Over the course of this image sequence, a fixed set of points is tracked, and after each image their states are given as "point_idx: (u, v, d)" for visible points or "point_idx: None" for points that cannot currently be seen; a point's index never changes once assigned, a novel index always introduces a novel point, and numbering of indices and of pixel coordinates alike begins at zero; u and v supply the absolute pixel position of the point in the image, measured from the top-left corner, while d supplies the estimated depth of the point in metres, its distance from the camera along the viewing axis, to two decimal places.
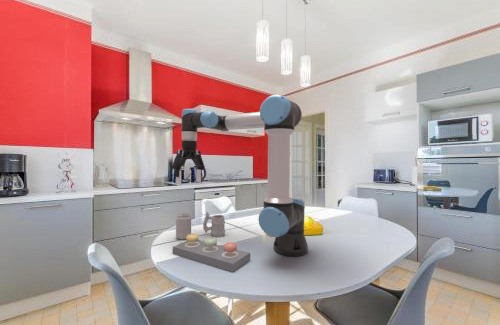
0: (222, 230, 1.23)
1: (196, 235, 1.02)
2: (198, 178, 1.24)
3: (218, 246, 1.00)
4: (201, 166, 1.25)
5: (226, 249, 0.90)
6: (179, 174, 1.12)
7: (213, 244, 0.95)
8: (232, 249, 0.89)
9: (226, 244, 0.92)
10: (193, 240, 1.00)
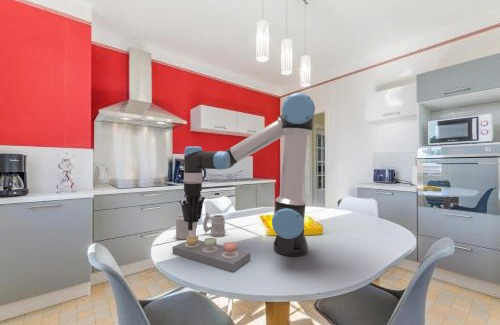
0: (222, 230, 1.23)
1: (196, 237, 1.02)
2: None
3: (218, 246, 1.00)
4: (197, 218, 1.03)
5: (226, 249, 0.90)
6: (192, 227, 1.01)
7: (213, 244, 0.95)
8: (232, 249, 0.89)
9: (226, 244, 0.92)
10: (193, 242, 1.00)
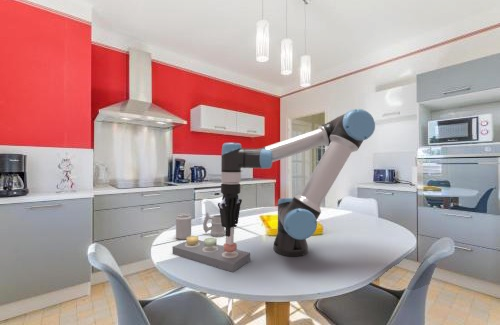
0: (222, 230, 1.23)
1: (196, 237, 1.02)
2: None
3: (218, 246, 1.00)
4: (235, 222, 0.93)
5: (226, 249, 0.90)
6: (230, 233, 0.90)
7: (213, 244, 0.95)
8: (232, 249, 0.89)
9: (226, 244, 0.92)
10: (193, 242, 1.00)
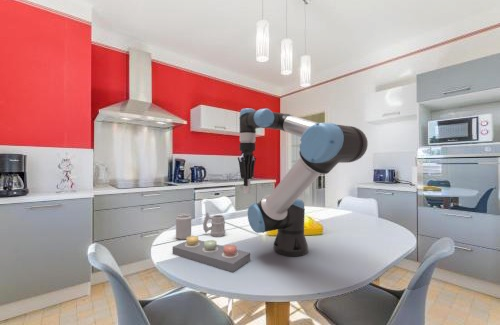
0: (222, 230, 1.23)
1: (196, 237, 1.02)
2: None
3: (218, 246, 1.00)
4: (251, 175, 1.12)
5: (226, 252, 0.90)
6: (248, 183, 1.10)
7: (213, 246, 0.95)
8: (232, 251, 0.89)
9: (226, 247, 0.92)
10: (193, 242, 1.00)
